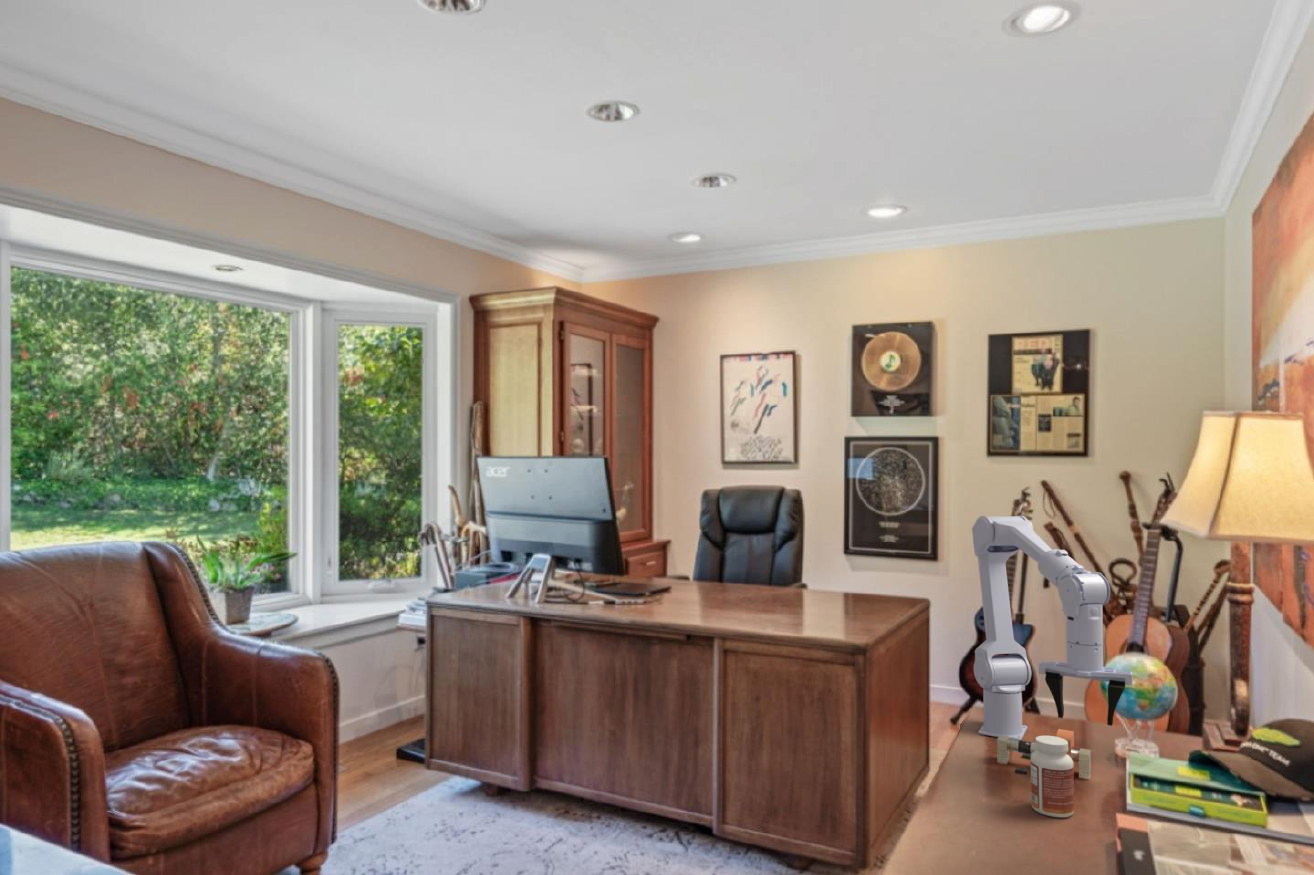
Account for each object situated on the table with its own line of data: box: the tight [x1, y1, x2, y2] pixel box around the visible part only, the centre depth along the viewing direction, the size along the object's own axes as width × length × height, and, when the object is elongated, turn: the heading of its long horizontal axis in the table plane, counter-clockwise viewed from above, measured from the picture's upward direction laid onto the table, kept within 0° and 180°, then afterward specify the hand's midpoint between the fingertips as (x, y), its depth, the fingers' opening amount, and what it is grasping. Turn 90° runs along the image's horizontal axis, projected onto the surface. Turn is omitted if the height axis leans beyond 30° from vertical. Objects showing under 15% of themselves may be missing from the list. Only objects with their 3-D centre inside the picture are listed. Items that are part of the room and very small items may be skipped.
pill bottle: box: [1030, 735, 1075, 819], centre depth 131 cm, size 6×6×11 cm
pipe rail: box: [996, 735, 1092, 781], centre depth 149 cm, size 15×10×4 cm, turn 58°
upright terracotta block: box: [1055, 728, 1075, 771], centre depth 147 cm, size 2×6×6 cm, turn 148°
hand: (1085, 720), depth 145 cm, fingers open, 7 cm apart
